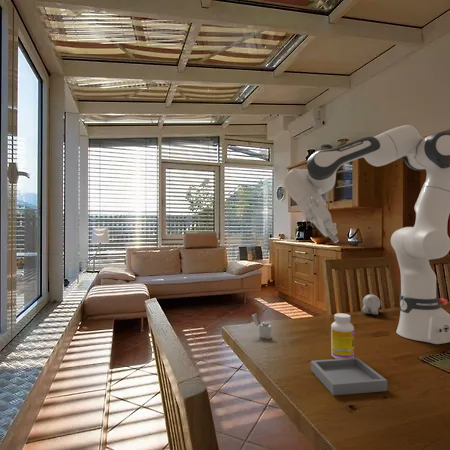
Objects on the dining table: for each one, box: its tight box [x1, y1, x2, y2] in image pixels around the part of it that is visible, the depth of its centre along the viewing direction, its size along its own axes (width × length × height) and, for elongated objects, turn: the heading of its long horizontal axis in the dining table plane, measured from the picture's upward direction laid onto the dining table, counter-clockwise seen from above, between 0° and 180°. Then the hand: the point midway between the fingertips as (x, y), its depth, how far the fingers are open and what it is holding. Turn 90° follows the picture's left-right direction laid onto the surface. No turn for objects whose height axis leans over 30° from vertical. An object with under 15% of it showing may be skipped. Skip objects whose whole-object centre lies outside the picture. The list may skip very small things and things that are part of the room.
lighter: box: [251, 313, 272, 340], centre depth 123 cm, size 7×2×8 cm, turn 59°
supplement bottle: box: [330, 312, 355, 359], centre depth 103 cm, size 7×7×13 cm
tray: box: [310, 357, 388, 396], centre depth 89 cm, size 14×14×3 cm
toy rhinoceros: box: [361, 293, 381, 316], centre depth 152 cm, size 7×12×8 cm, turn 142°
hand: (336, 237), depth 114 cm, fingers open, 8 cm apart
